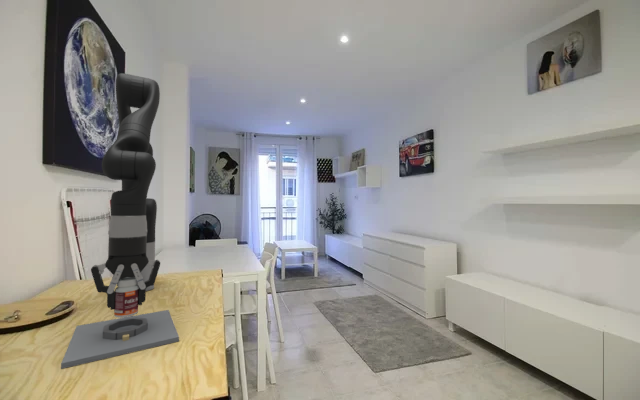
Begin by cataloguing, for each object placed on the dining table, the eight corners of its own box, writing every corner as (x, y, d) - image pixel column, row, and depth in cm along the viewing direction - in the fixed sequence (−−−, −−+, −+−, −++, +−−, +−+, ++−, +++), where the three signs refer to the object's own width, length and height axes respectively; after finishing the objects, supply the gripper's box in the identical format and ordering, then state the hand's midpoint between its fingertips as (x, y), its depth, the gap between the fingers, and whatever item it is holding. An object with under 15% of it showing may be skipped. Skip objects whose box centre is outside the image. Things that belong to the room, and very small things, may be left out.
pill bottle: (126, 319, 64) (127, 281, 65) (108, 317, 65) (109, 280, 66) (143, 311, 69) (144, 276, 69) (126, 309, 70) (127, 275, 70)
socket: (76, 329, 70) (76, 319, 70) (168, 313, 81) (168, 304, 81) (60, 368, 53) (61, 355, 53) (178, 341, 64) (179, 330, 64)
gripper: (161, 232, 75) (159, 297, 74) (91, 234, 67) (89, 307, 66) (164, 234, 69) (162, 305, 68) (88, 237, 61) (85, 318, 60)
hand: (126, 306), depth 67 cm, fingers closed on pill bottle, 4 cm apart
